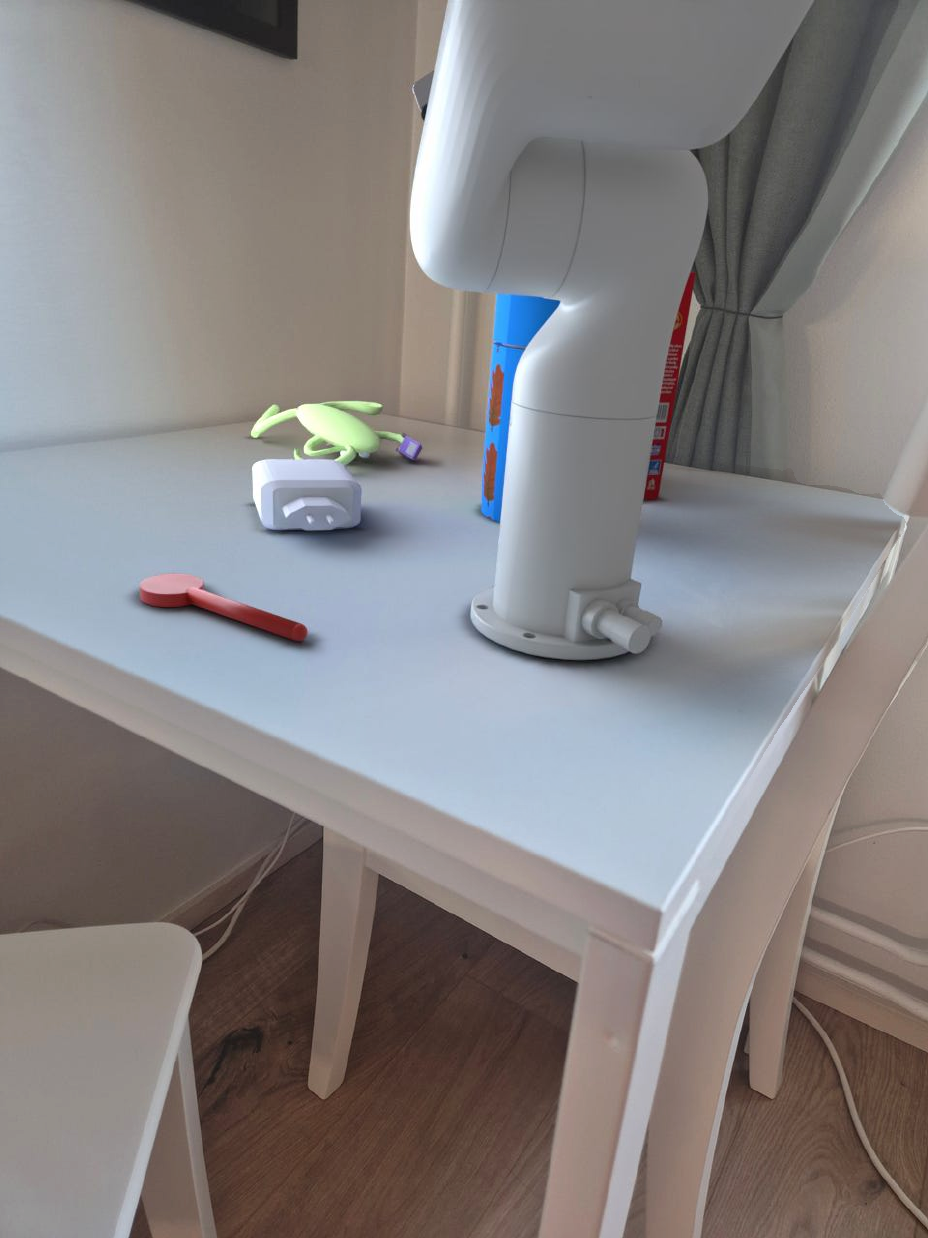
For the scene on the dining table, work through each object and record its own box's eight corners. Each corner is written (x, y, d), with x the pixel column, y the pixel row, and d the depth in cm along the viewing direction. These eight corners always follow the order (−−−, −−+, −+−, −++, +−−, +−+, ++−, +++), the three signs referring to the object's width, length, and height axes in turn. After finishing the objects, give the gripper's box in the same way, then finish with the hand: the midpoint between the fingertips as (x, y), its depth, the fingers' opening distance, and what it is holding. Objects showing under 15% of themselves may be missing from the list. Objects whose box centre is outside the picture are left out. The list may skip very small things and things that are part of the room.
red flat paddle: (326, 632, 56) (327, 616, 56) (282, 654, 53) (281, 636, 52) (176, 581, 63) (175, 566, 63) (127, 596, 60) (125, 581, 59)
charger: (268, 552, 71) (253, 505, 84) (374, 548, 74) (343, 504, 87) (267, 498, 69) (252, 458, 82) (375, 496, 72) (344, 459, 85)
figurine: (366, 430, 126) (367, 393, 124) (446, 470, 105) (449, 425, 103) (244, 433, 118) (243, 392, 116) (305, 476, 96) (304, 428, 94)
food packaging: (658, 498, 99) (695, 272, 90) (622, 501, 97) (657, 269, 87) (588, 470, 111) (615, 268, 102) (555, 471, 109) (579, 265, 99)
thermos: (576, 534, 83) (611, 261, 73) (471, 521, 84) (491, 253, 75) (583, 508, 93) (615, 264, 83) (489, 496, 94) (509, 256, 85)
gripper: (400, -58, 65) (392, 188, 71) (618, -73, 59) (588, 195, 66) (439, -24, 71) (428, 198, 78) (639, -35, 66) (609, 206, 72)
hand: (501, 197), depth 72 cm, fingers open, 9 cm apart
